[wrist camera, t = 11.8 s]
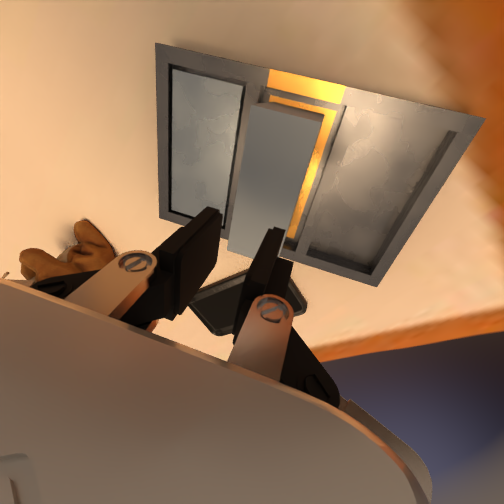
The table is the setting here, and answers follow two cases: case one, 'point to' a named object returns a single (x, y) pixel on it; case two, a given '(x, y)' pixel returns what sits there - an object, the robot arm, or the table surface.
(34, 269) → the stuffed squirrel
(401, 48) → the table surface
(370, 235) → the gray divided tray
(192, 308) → the phone
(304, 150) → the gray rectangular block
